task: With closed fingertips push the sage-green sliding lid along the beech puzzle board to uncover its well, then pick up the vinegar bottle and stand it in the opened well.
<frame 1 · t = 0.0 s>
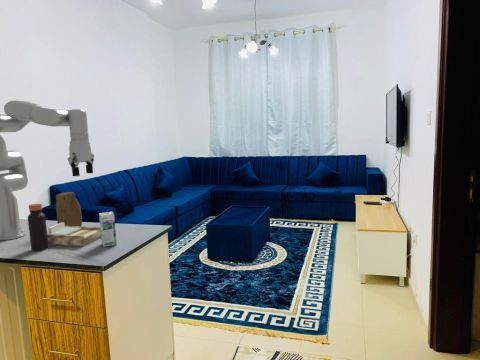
hand: (83, 174, 169), 31 cm above the countertop, fingers open, 9 cm apart
block: (70, 230, 193), on the countertop
puzzle board: (73, 240, 175), on the countertop
vinegar: (40, 249, 164), on the countertop
syrup box: (109, 244, 167), on the countertop
lid: (63, 228, 175), point 5 cm above the countertop, slide at 0.0 cm
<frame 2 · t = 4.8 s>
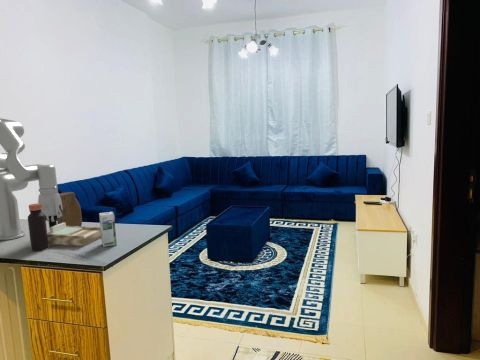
hand: (53, 228, 177), 5 cm above the countertop, fingers closed
lid: (64, 228, 175), point 5 cm above the countertop, slide at 0.8 cm, touching gripper
everything else where it was.
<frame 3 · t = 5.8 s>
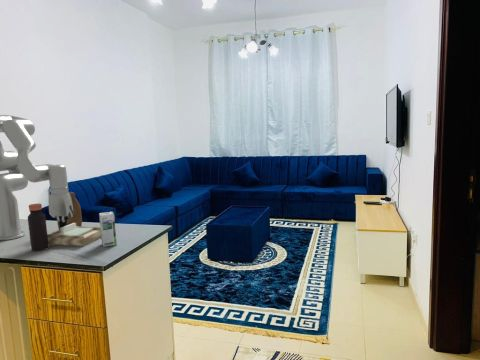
hand: (63, 229, 175), 5 cm above the countertop, fingers closed
lid: (75, 229, 174), point 5 cm above the countertop, slide at 6.5 cm, touching gripper
everything else where it was.
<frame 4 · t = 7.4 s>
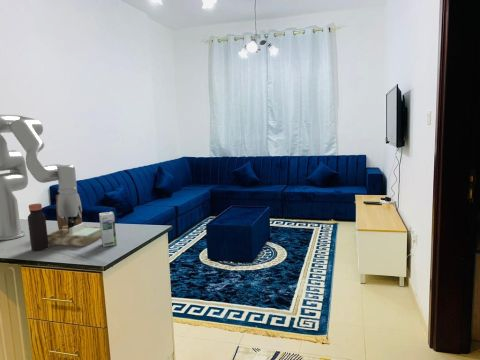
hand: (72, 230, 174), 5 cm above the countertop, fingers closed
lid: (83, 229, 173), point 5 cm above the countertop, slide at 11.3 cm, touching gripper
everything else where it was.
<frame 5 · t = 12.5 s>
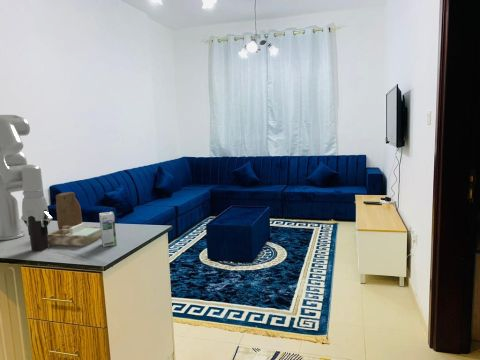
hand: (38, 234, 163), 7 cm above the countertop, fingers closed on vinegar, 5 cm apart
vinegar: (40, 249, 164), on the countertop, touching gripper
lid: (83, 229, 173), point 5 cm above the countertop, slide at 11.3 cm
everything else where it was.
when the fingers open (9 cm above the countertop, at t = 17.4 s): vinegar drops 2 cm, resting on puzzle board.
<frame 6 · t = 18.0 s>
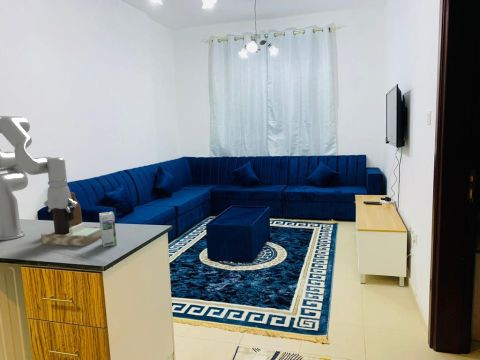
hand: (62, 219, 175), 10 cm above the countertop, fingers open, 9 cm apart
vinegar: (63, 239, 176), resting on puzzle board
everything else where it was.
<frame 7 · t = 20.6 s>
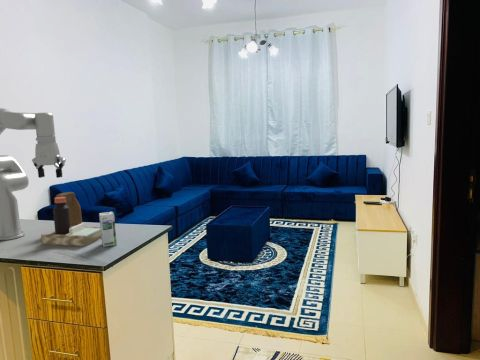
hand: (50, 177, 171), 30 cm above the countertop, fingers open, 9 cm apart
nothing on the countertop moved.
at the end: lid slide at 11.3 cm; vinegar inside the target area on the puzzle board (0.2 cm from its centre), point 0.3 cm above the puzzle board's base; vinegar tilted 1° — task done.
